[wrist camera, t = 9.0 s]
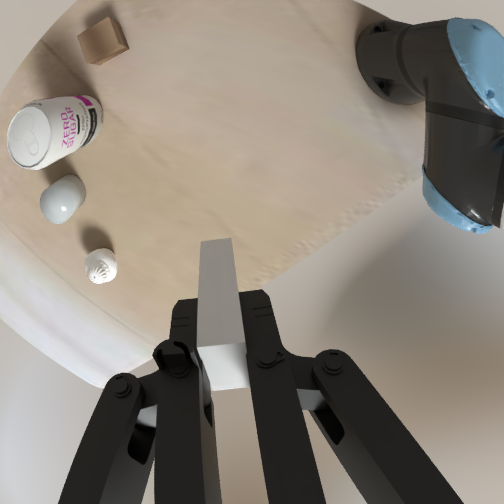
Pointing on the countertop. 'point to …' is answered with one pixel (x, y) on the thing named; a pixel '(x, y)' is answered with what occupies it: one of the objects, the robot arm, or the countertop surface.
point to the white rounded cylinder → (62, 198)
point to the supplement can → (53, 129)
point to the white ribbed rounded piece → (101, 265)
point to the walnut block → (102, 41)
